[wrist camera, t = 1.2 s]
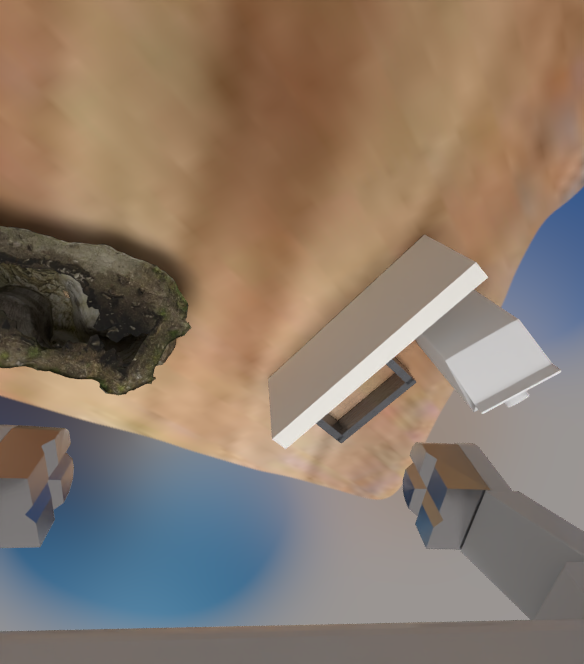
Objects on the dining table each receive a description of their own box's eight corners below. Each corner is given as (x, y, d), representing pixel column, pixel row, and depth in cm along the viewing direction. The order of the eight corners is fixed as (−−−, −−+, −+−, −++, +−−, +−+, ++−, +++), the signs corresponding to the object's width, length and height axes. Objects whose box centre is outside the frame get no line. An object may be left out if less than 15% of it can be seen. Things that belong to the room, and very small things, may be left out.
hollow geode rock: (-40, 234, 47) (-129, 350, 41) (-93, 158, 36) (-227, 301, 30) (192, 326, 53) (145, 438, 47) (209, 285, 42) (150, 425, 36)
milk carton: (393, 301, 50) (466, 384, 33) (445, 269, 49) (548, 338, 32) (417, 343, 53) (496, 440, 36) (467, 314, 52) (573, 400, 35)
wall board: (424, 234, 47) (476, 262, 36) (434, 246, 48) (488, 277, 37) (268, 378, 53) (271, 439, 42) (279, 387, 54) (285, 449, 43)
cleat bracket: (357, 321, 51) (363, 331, 48) (408, 370, 55) (416, 382, 52) (284, 387, 54) (286, 400, 51) (337, 429, 58) (341, 443, 55)
